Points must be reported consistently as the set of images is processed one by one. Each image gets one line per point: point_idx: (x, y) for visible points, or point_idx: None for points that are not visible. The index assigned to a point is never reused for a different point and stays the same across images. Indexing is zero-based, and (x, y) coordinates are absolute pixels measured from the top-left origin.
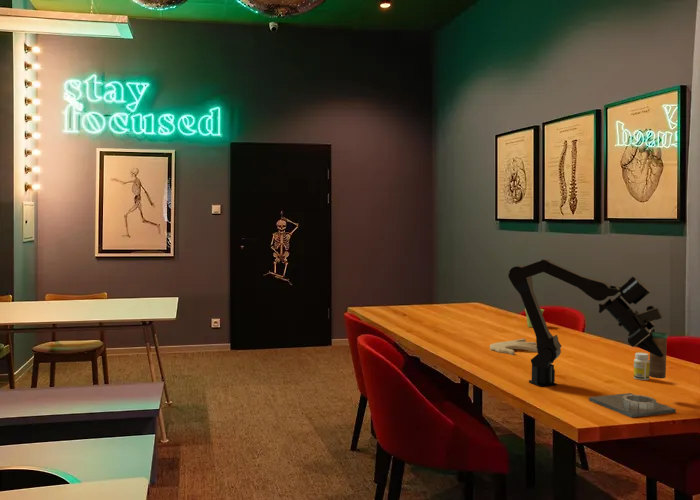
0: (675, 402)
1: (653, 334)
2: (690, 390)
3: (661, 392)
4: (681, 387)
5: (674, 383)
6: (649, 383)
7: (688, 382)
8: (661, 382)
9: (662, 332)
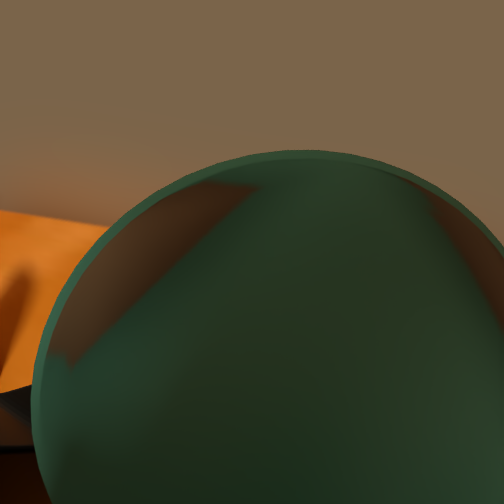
0: None
1: None
2: (93, 237)
3: None
4: (60, 259)
5: (20, 271)
6: (28, 359)
7: (12, 228)
8: (12, 311)
9: (152, 265)
